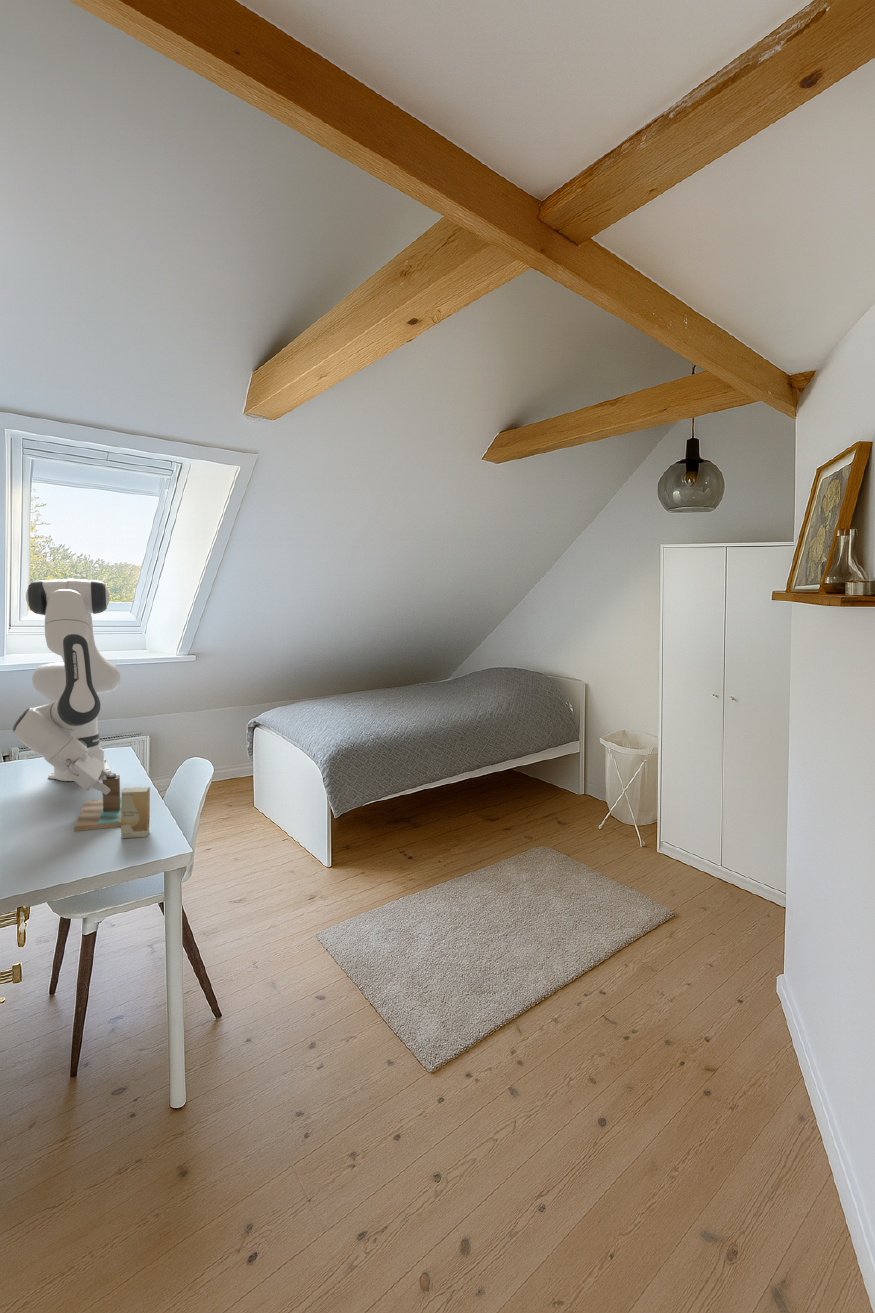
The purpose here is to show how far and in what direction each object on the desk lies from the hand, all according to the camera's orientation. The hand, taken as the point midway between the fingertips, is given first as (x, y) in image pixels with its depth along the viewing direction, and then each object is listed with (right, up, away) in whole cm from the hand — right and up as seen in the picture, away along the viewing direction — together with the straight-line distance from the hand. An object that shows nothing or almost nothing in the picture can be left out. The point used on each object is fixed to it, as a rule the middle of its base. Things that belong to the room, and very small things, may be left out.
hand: (110, 787), depth 178 cm
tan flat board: (0, -8, +1) cm, 8 cm away
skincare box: (+14, -10, -14) cm, 22 cm away
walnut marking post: (0, -6, +1) cm, 6 cm away
